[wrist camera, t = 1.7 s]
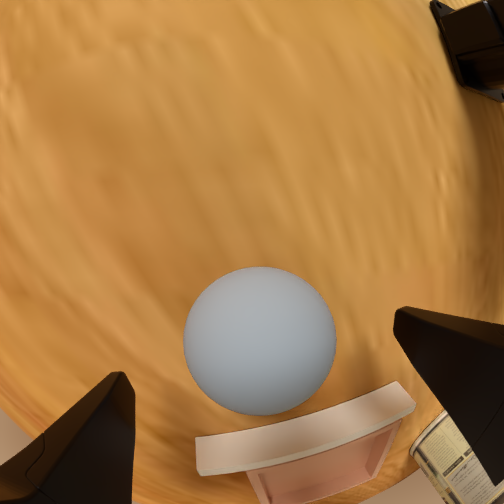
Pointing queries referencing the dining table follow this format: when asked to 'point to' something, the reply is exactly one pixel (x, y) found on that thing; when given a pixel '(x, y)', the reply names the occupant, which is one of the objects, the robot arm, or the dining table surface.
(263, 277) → the ball
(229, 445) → the wall
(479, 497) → the coffee can
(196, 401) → the dining table surface
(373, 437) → the dish
